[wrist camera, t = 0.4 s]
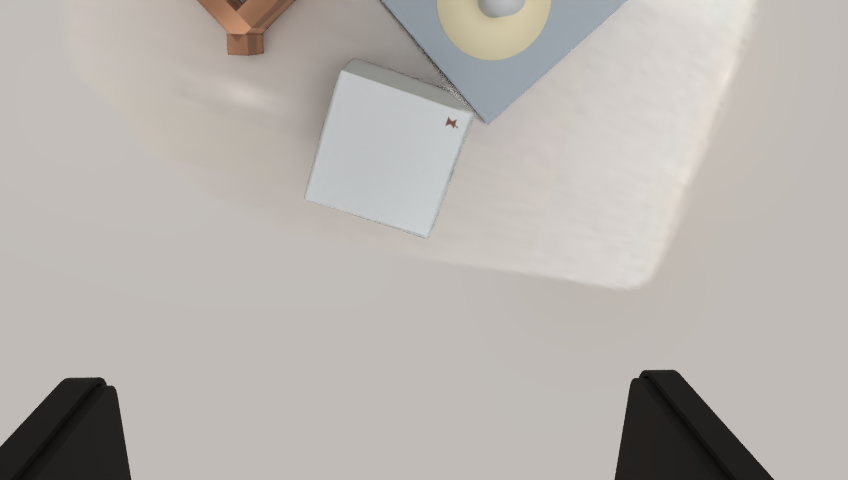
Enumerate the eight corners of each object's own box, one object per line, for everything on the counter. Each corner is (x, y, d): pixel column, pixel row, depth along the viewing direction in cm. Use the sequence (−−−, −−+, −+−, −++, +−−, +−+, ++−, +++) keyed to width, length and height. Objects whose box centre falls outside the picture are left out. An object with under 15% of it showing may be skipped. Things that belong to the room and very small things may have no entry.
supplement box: (352, 54, 40) (340, 62, 29) (451, 91, 42) (480, 112, 30) (321, 155, 43) (299, 200, 31) (417, 186, 44) (431, 242, 32)
